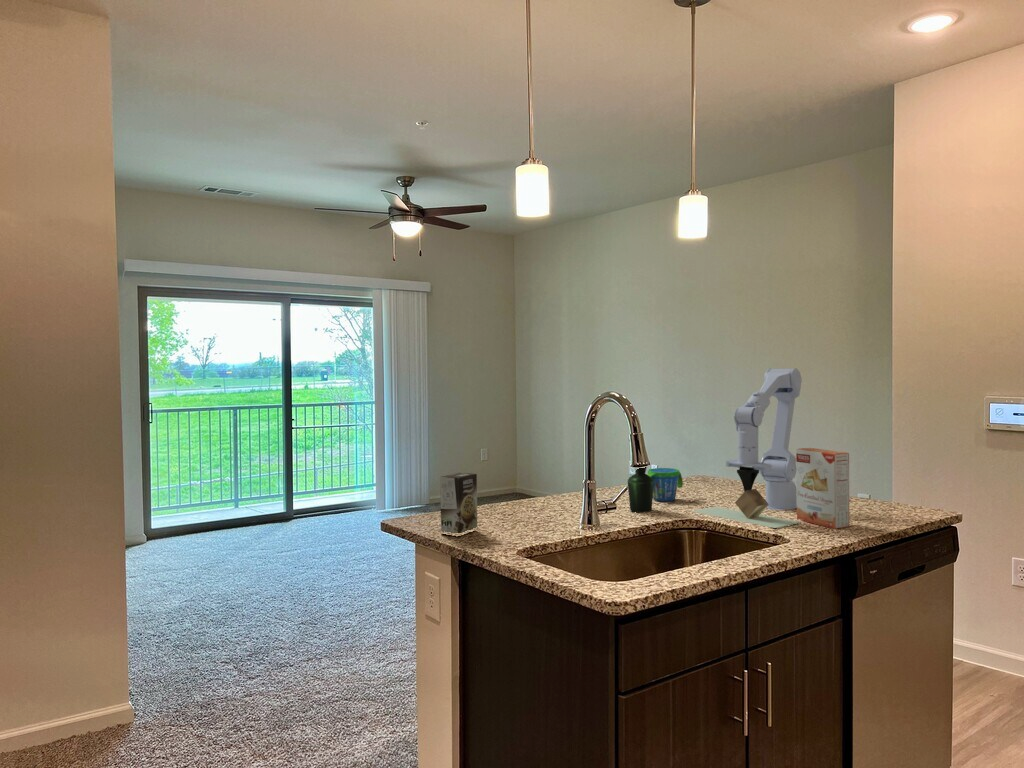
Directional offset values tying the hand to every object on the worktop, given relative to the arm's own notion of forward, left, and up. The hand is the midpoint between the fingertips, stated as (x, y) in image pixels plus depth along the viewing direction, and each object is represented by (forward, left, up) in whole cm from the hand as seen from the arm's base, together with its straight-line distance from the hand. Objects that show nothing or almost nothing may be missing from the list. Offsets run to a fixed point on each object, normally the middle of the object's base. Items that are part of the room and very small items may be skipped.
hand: (748, 493), depth 214 cm
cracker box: (-9, +18, -8) cm, 22 cm away
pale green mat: (+1, -1, -7) cm, 7 cm away
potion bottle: (+17, -27, -8) cm, 33 cm away
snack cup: (-3, -36, -8) cm, 37 cm away
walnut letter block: (0, -1, -1) cm, 1 cm away
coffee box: (+77, -37, -8) cm, 86 cm away
